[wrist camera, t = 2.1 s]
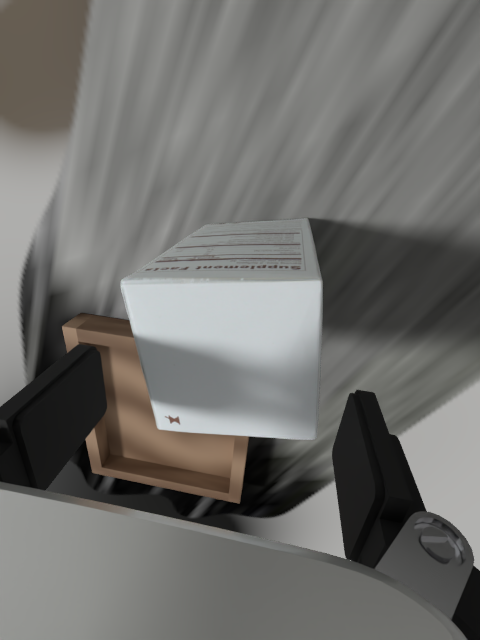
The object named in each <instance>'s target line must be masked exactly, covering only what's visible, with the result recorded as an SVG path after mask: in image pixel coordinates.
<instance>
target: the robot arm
mask: <svg viewBox="0 0 480 640" xmlns="http://www.w3.org/2000/svg"><path fill="white" fill-rule="evenodd" d="M106 410H107V400H106V392H105V385H104V377H103V369H102V361H101V354H100V352H99V351H97V349H96V347H94V346H89V345H83V344H78V345H77V346H75V347H74V348H73V349H72V350H70V351H69V352H68V353H67V354H65V355H64V356H63V357H62V358H60V359H59V360H58V361H57V362H55V363H54V364H53V365H52V366H50V367H49V368H48V369H47V370H46V371H44V372H43V373H42V374H41V375H39V376H38V377H37V378H36V379H34V380H33V381H32V382H31V383H29V384H28V385H27V386H26V387H24V388H23V389H22V390H21V391H19V392H18V393H17V394H16V395H15V396H13V397H12V398H11V399H10V400H8V401H7V402H6V403H5V404H3V405H2V406H1V407H0V640H480V571H479V570H478V569H477V568H476V567H475V566H473V563H474V556H473V552H472V549H471V547H470V545H469V544H468V541H467V540H466V538H465V537H464V536H463V535H462V533H461V532H460V531H459V530H458V529H457V528H456V527H455V526H454V525H453V524H451V523H450V522H449V521H447V520H446V519H444V518H442V517H441V516H439V515H436V514H434V513H431V512H427V511H426V509H425V506H424V503H423V501H422V498H421V496H420V493H419V491H418V488H417V485H416V483H415V480H414V478H413V475H412V472H411V470H410V467H409V465H408V462H407V460H406V457H405V454H404V452H403V449H402V446H401V444H400V441H399V439H398V437H396V436H395V435H391V434H389V432H388V429H387V426H386V423H385V421H384V418H383V415H382V412H381V409H380V407H379V404H378V401H377V398H376V395H375V393H373V392H367V391H361V390H356V392H355V394H354V393H350V394H349V397H348V400H347V403H346V407H345V410H344V413H343V416H342V420H341V423H340V426H339V430H338V433H337V436H336V439H335V443H334V446H333V451H332V459H333V466H334V474H335V482H336V489H337V496H338V504H339V511H340V520H341V527H342V534H343V543H344V550H345V556H346V558H347V559H348V560H347V559H344V558H340V557H337V556H333V555H330V554H327V553H322V552H318V551H314V550H310V549H306V548H302V547H297V546H293V545H290V544H285V543H281V542H277V541H273V540H268V539H264V538H260V537H255V536H251V535H246V534H242V533H237V532H233V531H228V530H224V529H220V528H215V527H211V526H206V525H201V524H197V523H193V522H188V521H183V520H179V519H175V518H169V517H165V516H161V515H156V514H152V513H147V512H143V511H138V510H133V509H129V508H124V507H120V506H115V505H110V504H106V503H101V502H96V501H92V500H87V499H82V498H78V497H73V496H68V495H63V494H58V493H54V492H49V491H45V490H46V489H47V488H48V487H49V485H50V484H51V483H52V481H53V480H54V479H55V478H56V476H57V475H58V474H59V472H60V471H61V470H62V469H63V467H64V466H65V465H66V463H67V462H68V461H69V460H70V458H71V457H72V456H73V454H74V453H75V452H76V451H77V449H78V448H79V447H80V445H81V444H82V443H83V442H84V440H85V439H86V438H87V436H88V435H89V434H90V433H91V431H92V430H93V429H94V427H95V426H96V425H97V424H98V422H99V421H100V420H101V418H102V417H103V416H104V414H105V412H106ZM350 560H352V561H350Z"/></svg>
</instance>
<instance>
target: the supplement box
mask: <svg viewBox="0 0 480 640" xmlns="http://www.w3.org/2000/svg"><path fill="white" fill-rule="evenodd" d="M121 291H122V295H123V298H124V303H125V306H126V310H127V313H128V316H129V320H130V324H131V328H132V332H133V336H134V340H135V344H136V347H137V351H138V355H139V359H140V365H141V368H142V372H143V375H144V378H145V381H146V386H147V389H148V393H149V397H150V400H151V404H152V408H153V412H154V416H155V420H156V425H157V428H158V429H159V430H168V431H177V432H189V433H204V434H220V435H237V436H252V437H268V438H285V439H299V440H314V439H316V437H317V429H318V415H319V397H320V377H321V351H322V318H323V280H322V277H321V273H320V268H319V264H318V259H317V254H316V249H315V244H314V240H313V236H312V232H311V227H310V224H309V220H308V219H307V218H303V219H288V220H272V221H254V222H236V223H219V224H207V225H205V226H203V227H202V228H200V229H199V230H197V231H195V232H194V233H192V234H191V235H189V236H188V237H186V238H185V239H183V240H182V241H181V242H179V243H178V244H176V245H175V246H173V247H172V248H170V249H169V250H167V251H166V252H165V253H163V254H162V255H160V256H159V257H157V258H156V259H154V260H153V261H151V262H150V263H148V264H147V265H145V266H144V267H142V268H141V269H139V270H138V271H136V272H134V273H133V274H131V275H129V276H127V277H125V278H124V279H122V280H121Z"/></svg>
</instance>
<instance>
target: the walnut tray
mask: <svg viewBox="0 0 480 640" xmlns="http://www.w3.org/2000/svg"><path fill="white" fill-rule="evenodd" d="M62 329H63V334H64V338H65V343H66V348H67V353H68V352H69V351H70V350H72V349H73V348H74V347H75V346H77V345H78V344H83V345H89V346H94V347H96V349H97V351H99V352H100V354H101V361H102V369H103V377H104V385H105V392H106V400H107V410H106V412H105V414H104V416H103V417H102V418H101V420H100V421H99V422H98V424H97V425H96V426H95V427H94V429H93V430H92V431H91V433H90V434H89V435H88V436H87V438H86V444H87V448H88V453H89V458H90V463H91V468H92V472H93V473H96V474H101V475H106V476H110V477H115V478H120V479H125V480H130V481H134V482H139V483H144V484H149V485H154V486H158V487H163V488H168V489H173V490H177V491H182V492H187V493H192V494H197V495H201V496H206V497H211V498H216V499H220V500H225V501H230V502H235V503H240V498H241V492H242V486H243V480H244V472H245V465H246V458H247V450H248V443H249V436H237V435H220V434H204V433H189V432H177V431H168V430H159V429H158V428H157V425H156V420H155V416H154V412H153V408H152V404H151V400H150V397H149V393H148V389H147V386H146V381H145V378H144V375H143V372H142V368H141V365H140V359H139V355H138V351H137V347H136V344H135V340H134V336H133V332H132V328H131V324H130V320H123V319H117V318H110V317H104V316H97V315H91V314H84V313H80V314H79V315H77V316H76V317H74V318H73V319H72V320H70V321H69V322H67V323H66V324H65V325H63V326H62Z"/></svg>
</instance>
